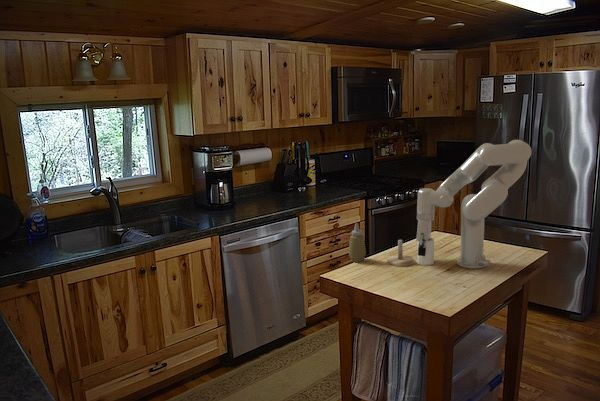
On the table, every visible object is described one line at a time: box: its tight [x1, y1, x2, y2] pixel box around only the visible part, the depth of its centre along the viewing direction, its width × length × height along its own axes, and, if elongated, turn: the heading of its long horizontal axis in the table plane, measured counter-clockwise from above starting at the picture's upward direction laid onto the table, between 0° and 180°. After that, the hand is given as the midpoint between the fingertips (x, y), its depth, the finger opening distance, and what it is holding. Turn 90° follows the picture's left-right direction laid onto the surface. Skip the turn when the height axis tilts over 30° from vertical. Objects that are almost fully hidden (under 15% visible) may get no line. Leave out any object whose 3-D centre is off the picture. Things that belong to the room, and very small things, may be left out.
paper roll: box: [417, 237, 435, 266], centre depth 218 cm, size 7×7×11 cm
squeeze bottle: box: [348, 222, 367, 263], centre depth 225 cm, size 8×8×18 cm
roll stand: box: [386, 239, 415, 268], centre depth 220 cm, size 12×12×10 cm
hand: (423, 252), depth 219 cm, fingers open, 9 cm apart
